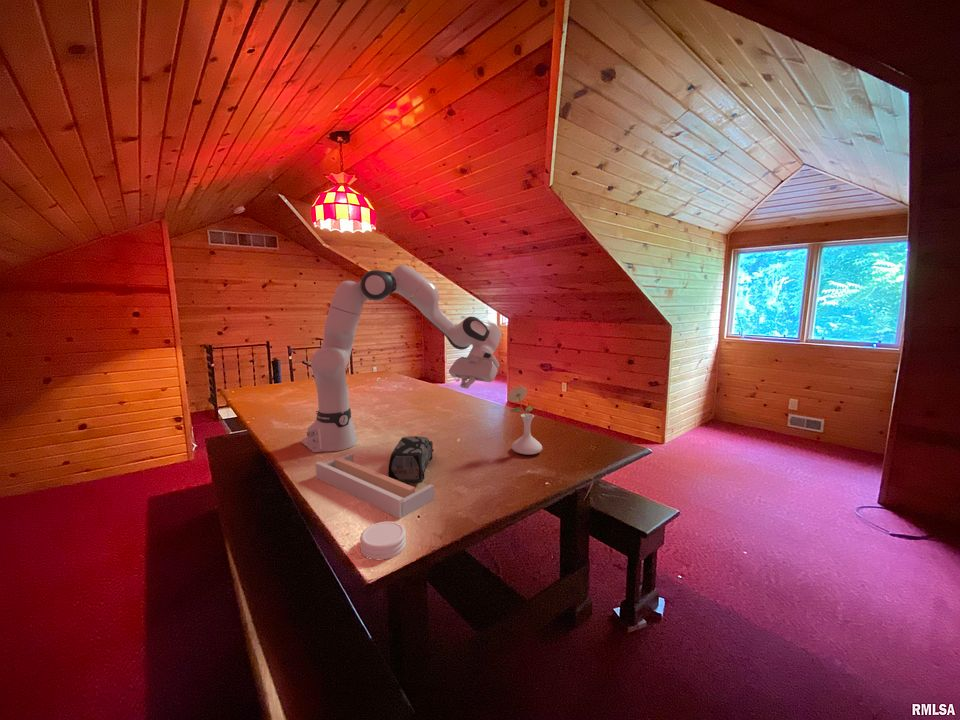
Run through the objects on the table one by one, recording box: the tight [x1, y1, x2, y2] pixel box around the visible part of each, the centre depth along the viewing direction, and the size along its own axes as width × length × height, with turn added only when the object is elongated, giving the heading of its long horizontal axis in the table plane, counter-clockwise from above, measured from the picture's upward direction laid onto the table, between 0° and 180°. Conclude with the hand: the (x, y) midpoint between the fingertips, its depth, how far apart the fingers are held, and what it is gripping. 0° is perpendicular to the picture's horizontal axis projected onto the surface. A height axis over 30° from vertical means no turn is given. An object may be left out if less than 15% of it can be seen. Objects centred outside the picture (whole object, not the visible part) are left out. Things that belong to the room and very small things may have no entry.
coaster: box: [359, 521, 407, 560], centre depth 87 cm, size 10×10×4 cm
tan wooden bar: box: [333, 456, 416, 498], centre depth 114 cm, size 35×2×5 cm, turn 53°
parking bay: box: [314, 453, 435, 520], centre depth 114 cm, size 39×12×5 cm, turn 53°
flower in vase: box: [507, 385, 543, 456], centre depth 141 cm, size 13×11×25 cm
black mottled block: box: [387, 435, 435, 484], centre depth 127 cm, size 11×25×10 cm, turn 178°
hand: (463, 387), depth 146 cm, fingers closed
